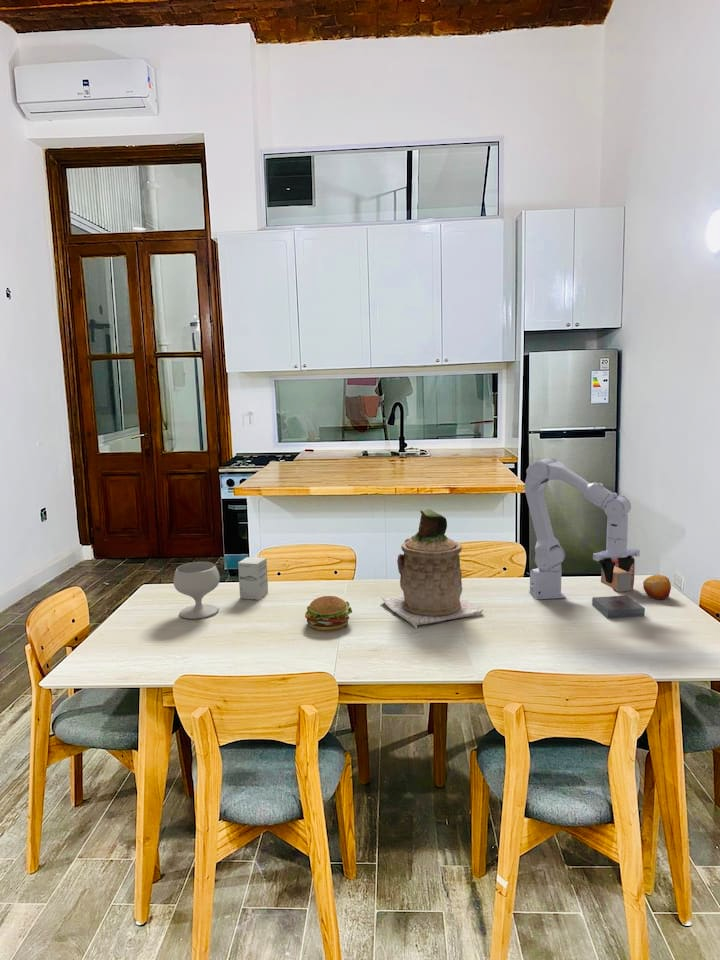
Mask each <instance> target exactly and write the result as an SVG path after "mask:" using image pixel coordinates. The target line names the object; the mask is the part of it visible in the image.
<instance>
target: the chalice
mask: <svg viewBox="0 0 720 960" xmlns="http://www.w3.org/2000/svg"><path fill="white" fill-rule="evenodd" d="M220 577H221V576H220V572H219V570H218V568H217V566H216V565H215V564H214V563H213V562H209V561H193V562H187V563H183V564H181V565H179V566H177V567H176V569H175V572H174V575H173V586H174V588H175V590H176V591H177V592H178V593H181V594H182V595H185V596H188V597H191V598H192V599H193V600H194V602H195V603H194V605H190V606H187V607H185V608H183V609H182V610H181V611H179V614H178V615H179V617H181V618H183V619H191V620H192V619H193V620H194V619H197V620H198V619H204V618H209V617H212V616H214V615H215V614H217V613H219V610H220V609H219V607H218V606H216V605H214V604H209V603H207V604H203V603H202V602H203V601H202V600H203V598H204V597H205V596H206V595H207V594H209V593H210V592H212V591H214V590H215V589H216V588H217V587H218V586H219V584H220Z"/></svg>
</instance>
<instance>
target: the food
mask: <svg viewBox="0 0 720 960" xmlns="http://www.w3.org/2000/svg"><path fill="white" fill-rule="evenodd" d="M350 614H353V610H352V607H351V606H350V603H349V601H346V600H344V599H343V598H341V597H338V596H336V595H324V596H323V595H322V596H320V597H317V598H315V599H313V601H311V602H310V603H309V605H308V606H307V607H306V612H305V614H304V617H305V619H306V622H307V624H308V625H309V627H311V628H312V629H315V630H317V631H325V630H326V631H335V630H339V629H342V628H344V627H345V626H347V625H348V622H349V620H350V616H349V615H350Z"/></svg>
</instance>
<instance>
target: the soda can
mask: <svg viewBox="0 0 720 960" xmlns="http://www.w3.org/2000/svg"><path fill="white" fill-rule="evenodd" d="M632 558H634V563H633V564H632V566H631V568H630V569H629V573H631V590H633V588H634V586H635V585H634V584H635V565H636V564H635V563H636V561H635V556H632ZM611 560H612V562H615V563H616V564H615V566H616V567H618V568H619V564H618V559H617V558H614V559H611ZM629 591H630V590H625V591H624V592H629Z"/></svg>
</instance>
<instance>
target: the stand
mask: <svg viewBox="0 0 720 960" xmlns="http://www.w3.org/2000/svg"><path fill="white" fill-rule="evenodd" d="M591 599H592V600H591V602H592V603H591V605H592V607H593V608H595V609H596V610H597V611H598V612H600V614H602V615H603V616H604V617H605V618H606V619H620V618H622V619H623V618H641V617H645V613H646V612H645V609H646V608H645V607H644V606H642V605H641V604H639V602H637V601H636V600H634V599H633V598H631V597H630V596H628V595H612V596H596V597H595V596H593V597H592V598H591Z"/></svg>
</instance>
